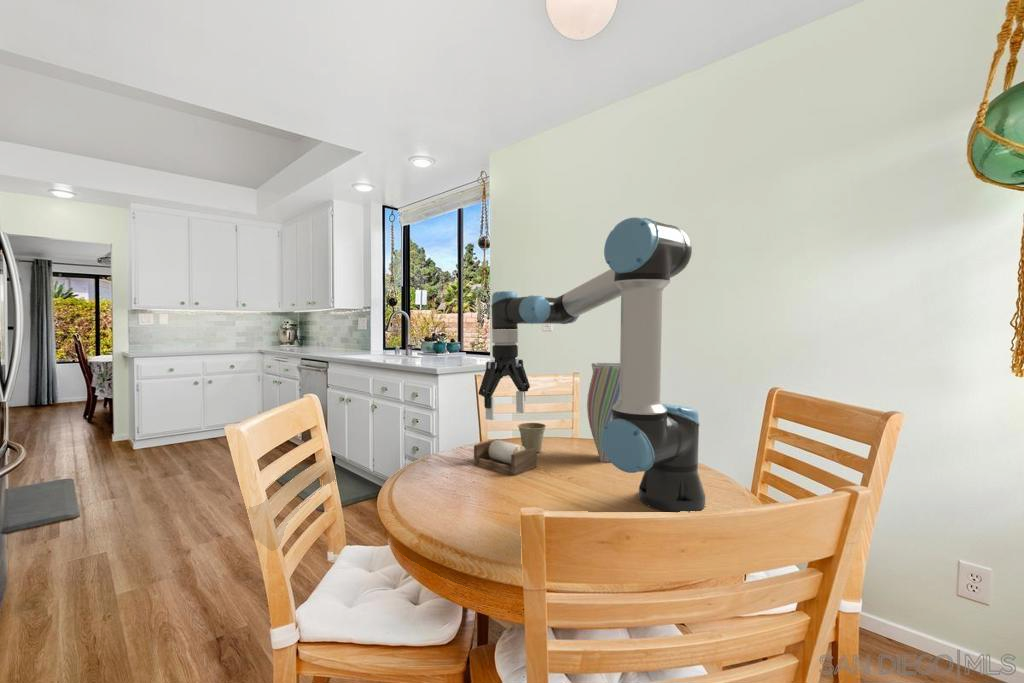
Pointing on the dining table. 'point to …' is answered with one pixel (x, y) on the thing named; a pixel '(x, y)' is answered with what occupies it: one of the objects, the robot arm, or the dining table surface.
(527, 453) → the cradle
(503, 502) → the dining table surface
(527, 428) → the flower pot
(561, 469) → the dining table surface
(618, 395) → the vase
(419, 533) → the dining table surface
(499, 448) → the roll
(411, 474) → the dining table surface
